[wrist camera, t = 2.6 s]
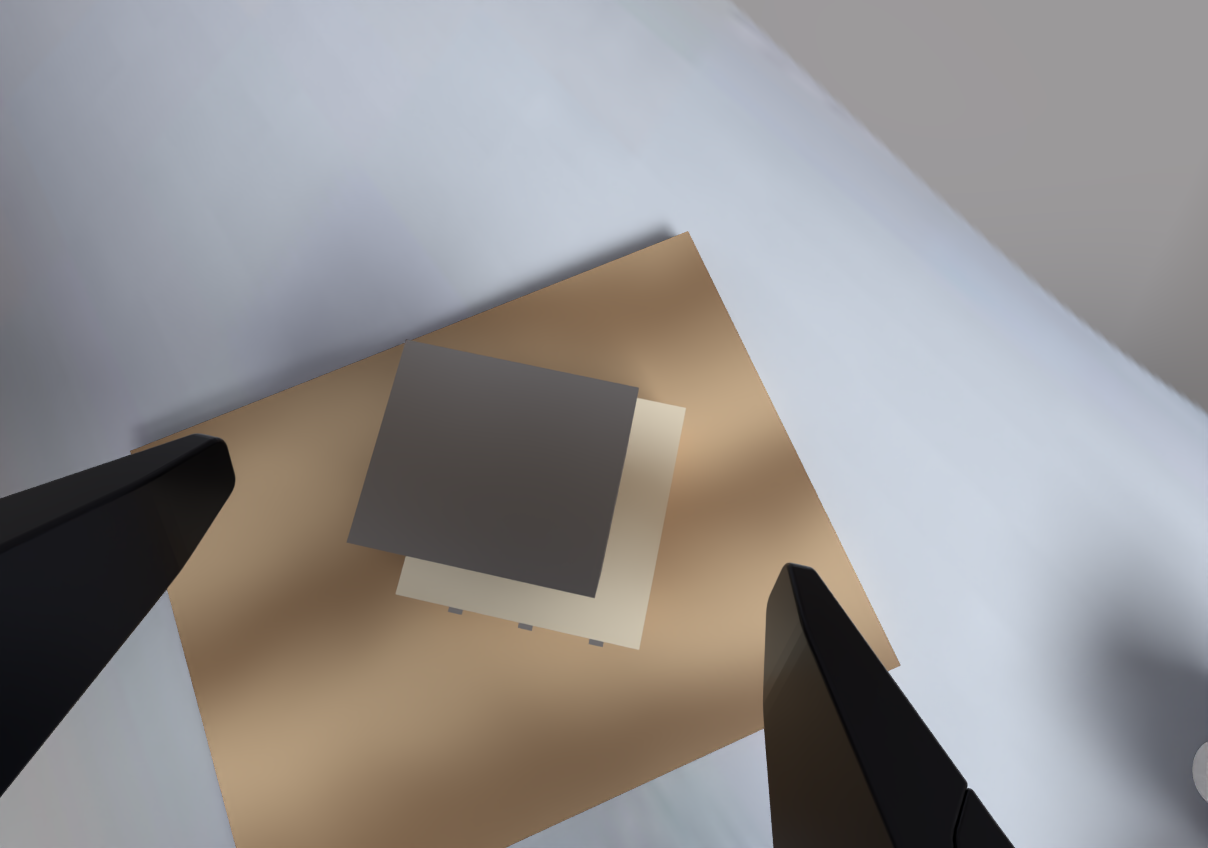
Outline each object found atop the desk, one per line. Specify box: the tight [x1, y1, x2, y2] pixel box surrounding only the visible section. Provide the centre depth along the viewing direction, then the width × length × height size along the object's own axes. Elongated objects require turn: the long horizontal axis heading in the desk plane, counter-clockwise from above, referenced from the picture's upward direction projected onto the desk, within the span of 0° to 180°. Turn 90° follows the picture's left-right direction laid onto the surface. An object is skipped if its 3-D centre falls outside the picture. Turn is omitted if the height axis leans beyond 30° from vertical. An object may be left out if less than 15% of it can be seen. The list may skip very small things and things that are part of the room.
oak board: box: [130, 231, 900, 848], centre depth 17 cm, size 14×18×1 cm
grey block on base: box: [346, 340, 686, 650], centre depth 13 cm, size 6×6×9 cm
